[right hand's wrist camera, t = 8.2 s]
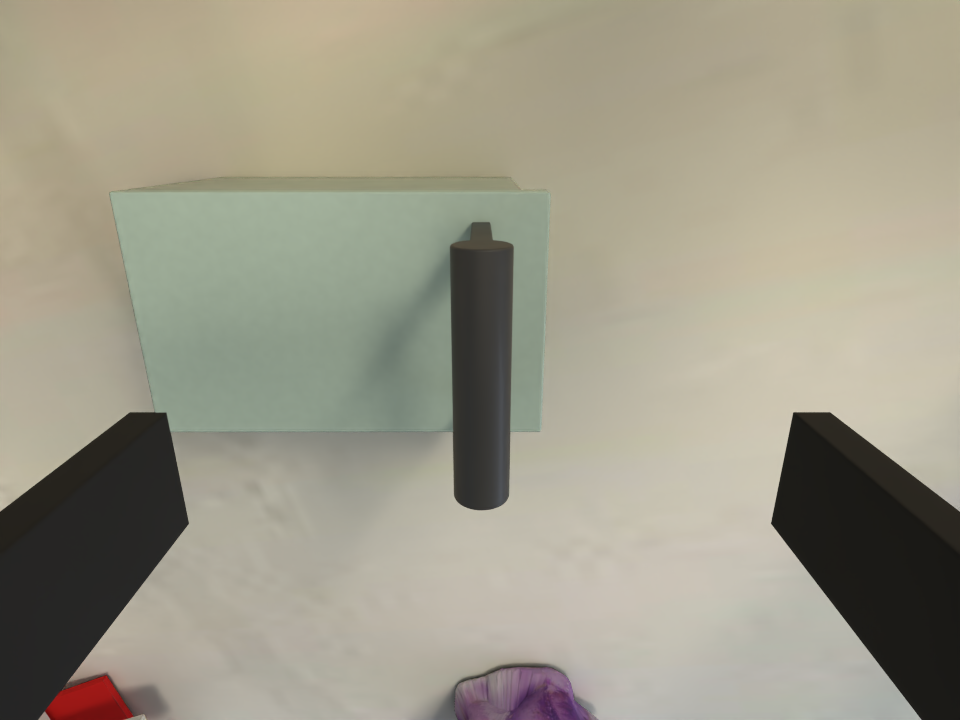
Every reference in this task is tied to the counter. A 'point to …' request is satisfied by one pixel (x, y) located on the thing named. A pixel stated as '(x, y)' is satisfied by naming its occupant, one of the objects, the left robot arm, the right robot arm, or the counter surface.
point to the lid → (345, 314)
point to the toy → (89, 703)
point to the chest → (344, 183)
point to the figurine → (519, 696)
